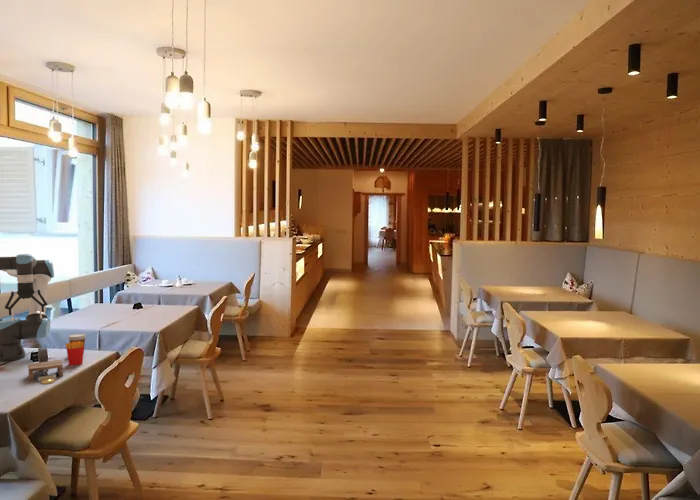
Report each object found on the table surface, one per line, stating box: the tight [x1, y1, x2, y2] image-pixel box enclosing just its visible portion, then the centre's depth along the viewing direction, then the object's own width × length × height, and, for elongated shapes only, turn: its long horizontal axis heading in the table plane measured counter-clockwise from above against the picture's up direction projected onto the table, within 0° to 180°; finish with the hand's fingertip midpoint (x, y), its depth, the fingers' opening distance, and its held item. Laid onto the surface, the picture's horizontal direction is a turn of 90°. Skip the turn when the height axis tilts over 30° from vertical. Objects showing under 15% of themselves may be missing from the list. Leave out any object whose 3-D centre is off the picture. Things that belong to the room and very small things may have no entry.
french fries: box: [65, 341, 85, 366], centre depth 300 cm, size 9×4×13 cm, turn 118°
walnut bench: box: [27, 359, 64, 382], centre depth 279 cm, size 10×15×6 cm, turn 125°
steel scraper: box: [37, 346, 57, 383], centre depth 282 cm, size 22×8×12 cm, turn 35°
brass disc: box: [40, 378, 56, 385], centre depth 271 cm, size 6×6×2 cm
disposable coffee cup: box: [68, 332, 87, 355], centre depth 319 cm, size 10×10×12 cm
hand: (27, 319), depth 294 cm, fingers open, 13 cm apart
